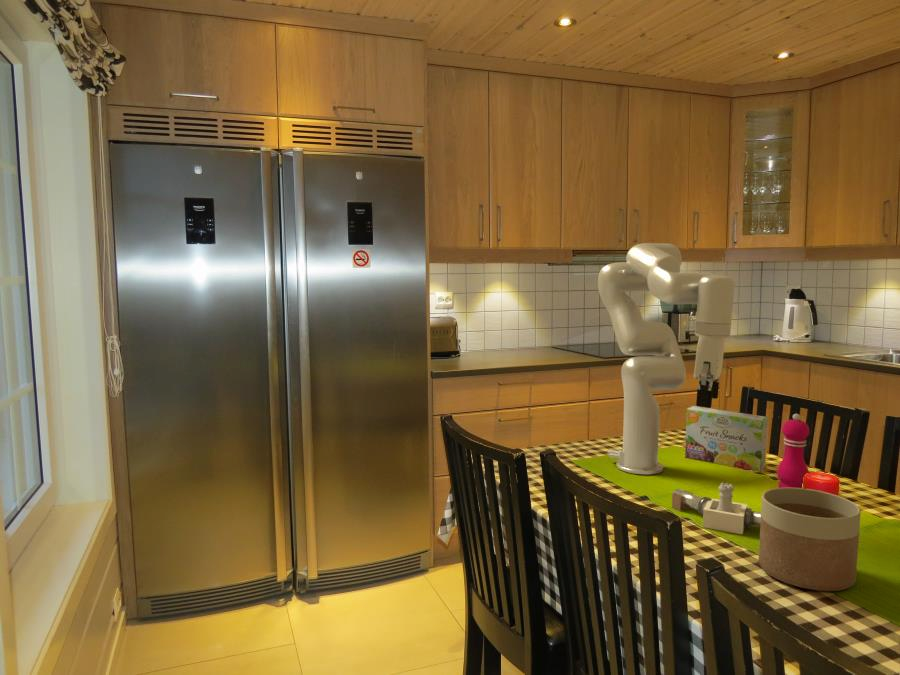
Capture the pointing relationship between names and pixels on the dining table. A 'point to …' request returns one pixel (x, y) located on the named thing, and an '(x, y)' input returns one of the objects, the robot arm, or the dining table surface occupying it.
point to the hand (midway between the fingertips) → (707, 402)
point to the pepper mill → (793, 454)
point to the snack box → (726, 438)
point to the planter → (809, 538)
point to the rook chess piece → (725, 498)
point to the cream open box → (724, 517)
